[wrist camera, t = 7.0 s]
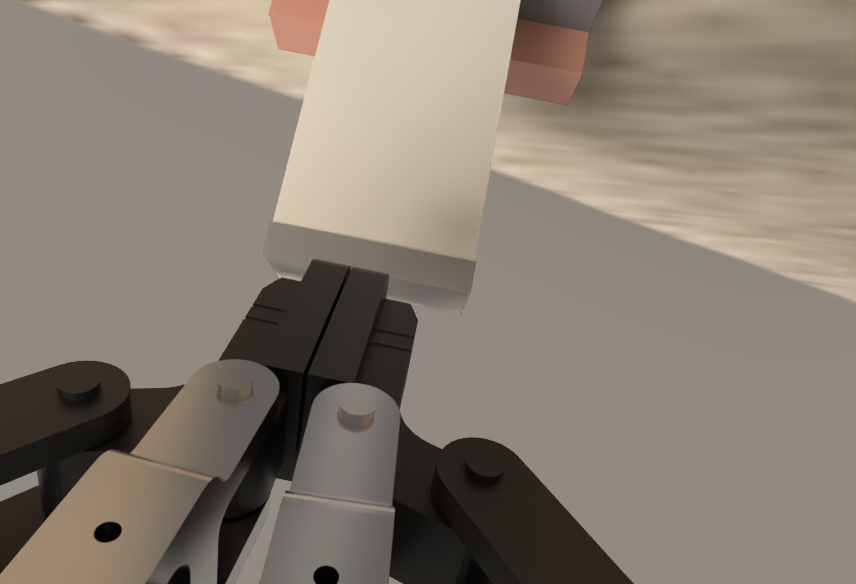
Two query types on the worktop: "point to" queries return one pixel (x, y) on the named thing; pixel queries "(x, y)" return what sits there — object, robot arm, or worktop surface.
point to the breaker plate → (531, 52)
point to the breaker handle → (397, 145)
